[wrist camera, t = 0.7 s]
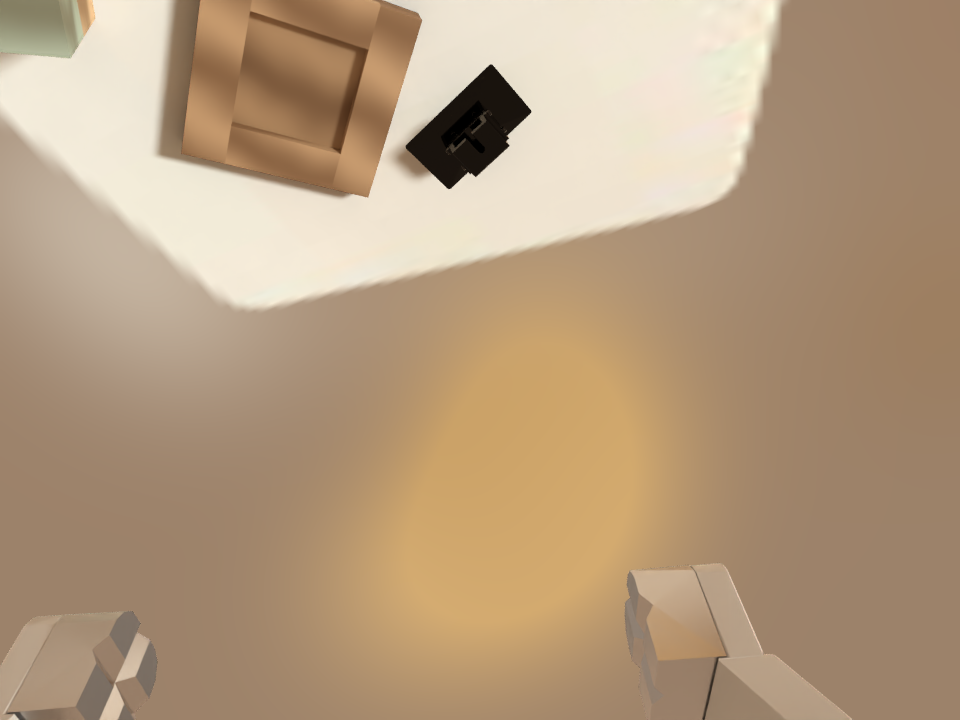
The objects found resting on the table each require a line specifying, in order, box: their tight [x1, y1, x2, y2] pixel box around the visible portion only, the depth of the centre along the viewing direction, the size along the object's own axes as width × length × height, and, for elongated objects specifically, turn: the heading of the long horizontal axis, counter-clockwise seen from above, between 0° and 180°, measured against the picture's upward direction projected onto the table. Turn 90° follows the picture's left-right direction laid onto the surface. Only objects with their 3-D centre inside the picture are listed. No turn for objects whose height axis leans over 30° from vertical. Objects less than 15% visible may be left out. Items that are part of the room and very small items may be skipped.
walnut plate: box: [181, 0, 422, 197], centre depth 49 cm, size 14×14×2 cm
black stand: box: [406, 65, 531, 189], centre depth 54 cm, size 12×7×5 cm, turn 130°
